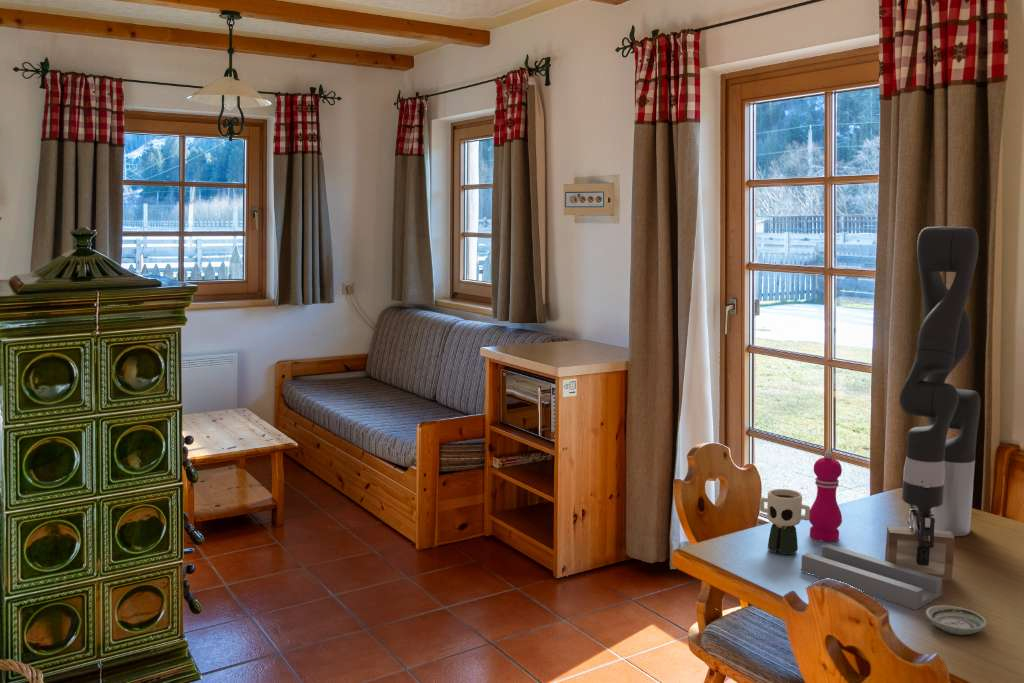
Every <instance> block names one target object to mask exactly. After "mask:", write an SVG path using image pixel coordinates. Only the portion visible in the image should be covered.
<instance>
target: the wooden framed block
mask: <svg viewBox="0 0 1024 683" xmlns="http://www.w3.org/2000/svg"><path fill="white" fill-rule="evenodd" d="M885 539H886V541H885V557H884V561H887V562H890V563H893V564H897V565H900V566H903V567H907V568H910V569H913V570H917V571H920V572H923V573H927V574H930V575H933V576H937V577H940V578H942V581H946V580H950V581H949V582H952V581H953V568H954V567H953V566H954V556H955V554H954V553H955V542H956V541H955V539H956V538H955V536H953V534H952V533H951V531H940V530H934V541H933V544H934V546H933V548H930V553H929V565H928V566H922V565H918V564H917V563H916V557H917V537H916V536H915V535H914V529H913V528H909V527H901V526H888V525H887V526H886V538H885ZM923 541H927V537H924V536H923Z"/></svg>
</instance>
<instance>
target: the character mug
mask: <svg viewBox="0 0 1024 683" xmlns="http://www.w3.org/2000/svg"><path fill="white" fill-rule="evenodd" d="M765 503H767V508H765ZM810 509H811V507H810V506H809V505H808V504H807V505H806V504H803V494H802V493H801V492H799V491H797V490H793V489H787V488H776V489H775V488H774V489H770V490H768V492H767V497H760V499H759V511H760V512H761V513H766V517H767V520H768V522H770V523H772V524H771V527H770V531H769V537H768V543H767V549H768V550H769V551H771V552H773V553H777V550H779V554H781V555H783V554H784V555H789V554H790V555H791V554H794V553H796V552H797V551H798V548H799V547H798V546H799V544H798V535H797V534H798V533H797V528H796V526H797V525H799V524H800V523H801V520H803V521H809V518H810ZM802 510H804V515H803V514H802Z"/></svg>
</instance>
